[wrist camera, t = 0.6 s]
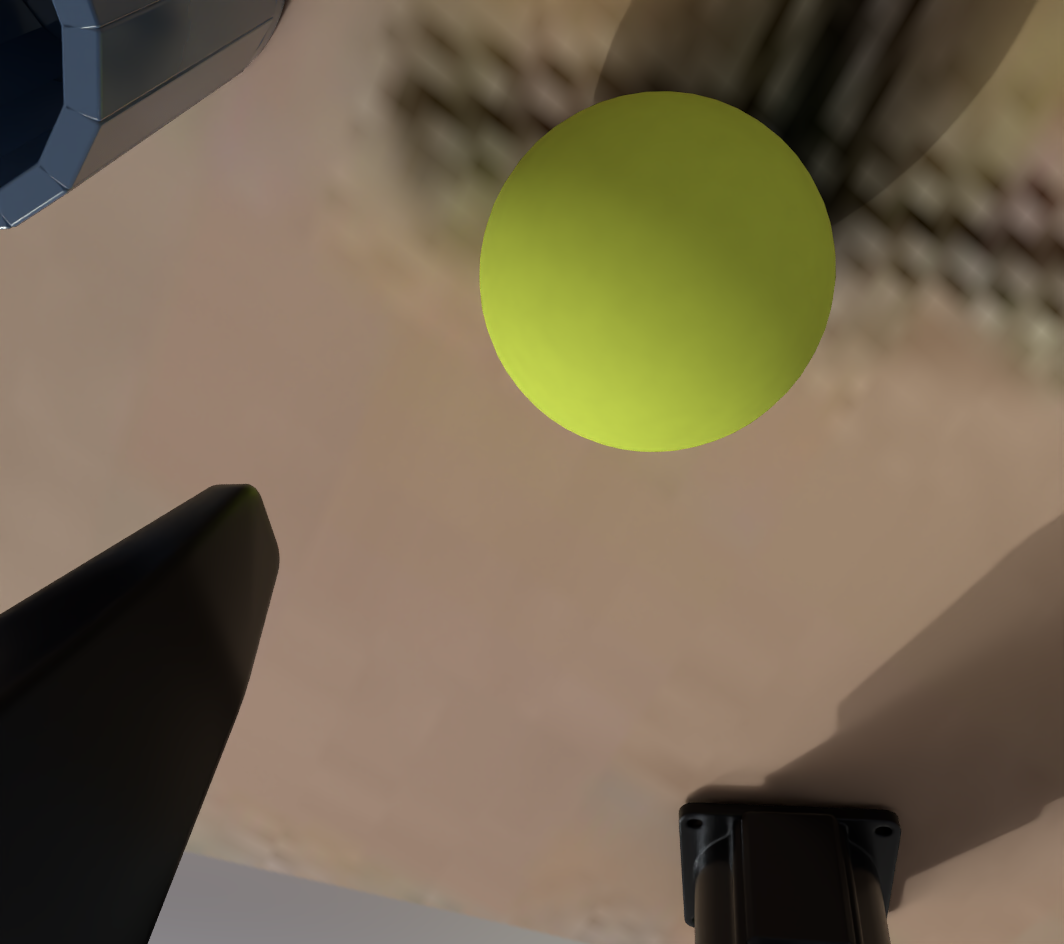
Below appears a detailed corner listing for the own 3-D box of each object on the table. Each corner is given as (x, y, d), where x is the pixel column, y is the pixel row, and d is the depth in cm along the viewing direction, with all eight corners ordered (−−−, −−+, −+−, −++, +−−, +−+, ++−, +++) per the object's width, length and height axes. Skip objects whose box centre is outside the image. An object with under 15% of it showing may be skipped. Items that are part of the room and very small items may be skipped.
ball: (808, 340, 20) (846, 520, 15) (527, 353, 21) (480, 525, 16) (823, 34, 17) (877, 143, 12) (487, 68, 18) (412, 180, 13)
